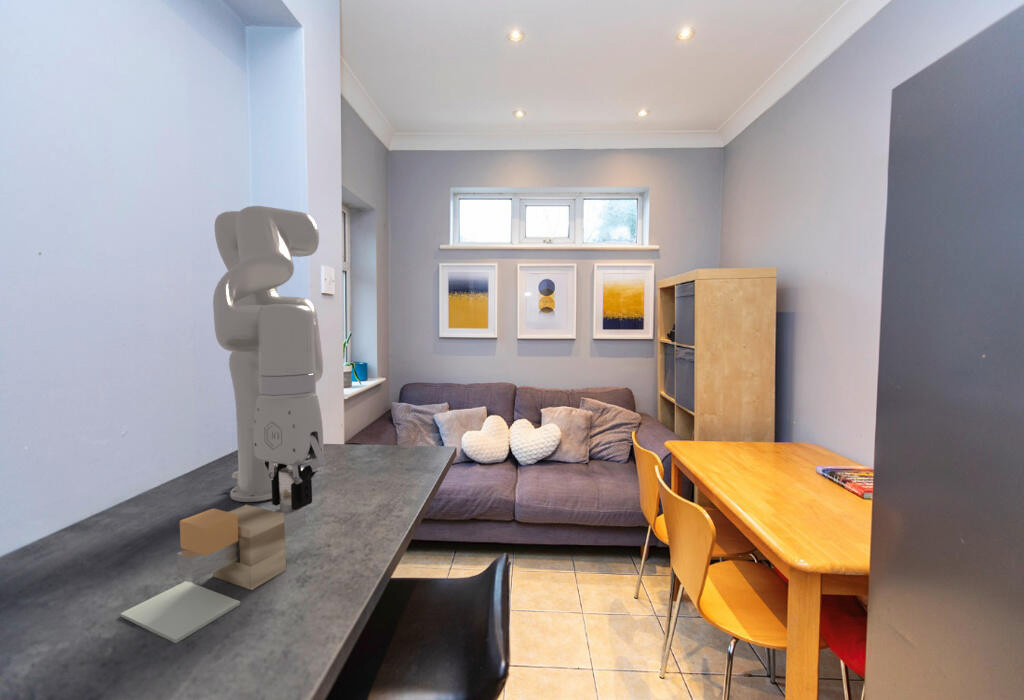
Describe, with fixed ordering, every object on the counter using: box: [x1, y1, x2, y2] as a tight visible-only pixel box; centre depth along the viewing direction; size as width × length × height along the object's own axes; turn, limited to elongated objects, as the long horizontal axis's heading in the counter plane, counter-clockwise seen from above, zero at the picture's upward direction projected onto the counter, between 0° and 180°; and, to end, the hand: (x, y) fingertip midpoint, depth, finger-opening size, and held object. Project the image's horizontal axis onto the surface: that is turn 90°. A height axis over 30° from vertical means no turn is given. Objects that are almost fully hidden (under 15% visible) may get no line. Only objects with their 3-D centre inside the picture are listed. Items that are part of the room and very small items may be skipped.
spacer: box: [179, 508, 238, 556], centre depth 54 cm, size 5×4×4 cm
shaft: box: [176, 465, 307, 584], centre depth 58 cm, size 3×17×9 cm, turn 156°
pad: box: [120, 580, 241, 644], centre depth 51 cm, size 11×7×1 cm, turn 66°
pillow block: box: [212, 504, 287, 591], centre depth 58 cm, size 8×5×8 cm, turn 66°
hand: (292, 503), depth 65 cm, fingers closed on shaft, 3 cm apart
